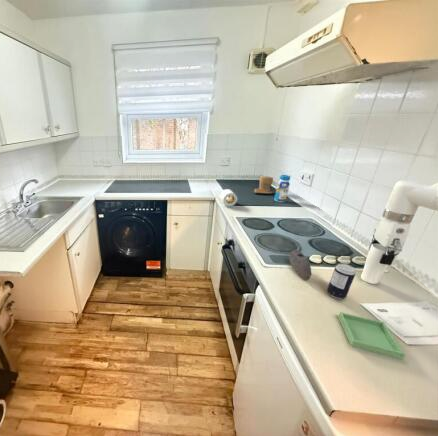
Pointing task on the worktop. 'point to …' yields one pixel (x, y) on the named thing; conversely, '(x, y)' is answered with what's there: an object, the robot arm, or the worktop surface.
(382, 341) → the green tray
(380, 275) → the white cup
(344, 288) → the beverage can
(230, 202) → the toilet paper
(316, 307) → the worktop surface
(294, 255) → the perforated stone tool
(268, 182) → the brown cylinder on base
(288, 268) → the worktop surface
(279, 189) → the beverage bottle
